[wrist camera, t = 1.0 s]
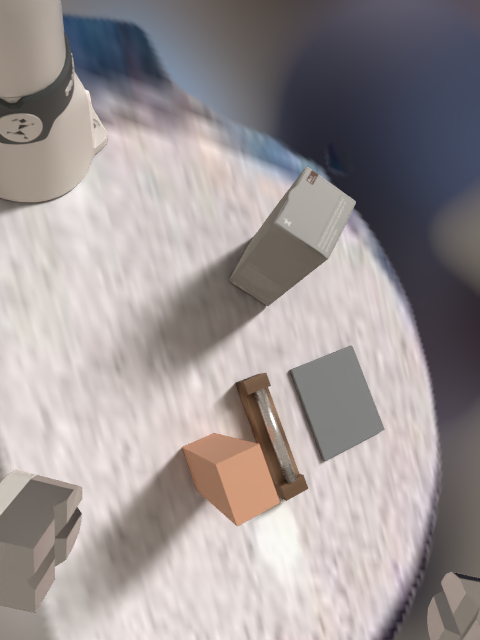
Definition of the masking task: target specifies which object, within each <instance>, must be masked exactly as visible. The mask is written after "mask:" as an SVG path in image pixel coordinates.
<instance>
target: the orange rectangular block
mask: <svg viewBox="0 0 480 640" xmlns="http://www.w3.org/2000/svg"><path fill="white" fill-rule="evenodd" d="M182 448H183V451H184V454H185V457H186V460H187V463H188V466H189V469H190V472H191V475H192V478H193V481H194V484H195V487H196V490H197V491H198V492H199V493H200V494H201V495H202V496H204V497H205V498H206V499H207V500H208V501H209V502H210V503H211V504H213V505H214V506H215V507H216V508H217V509H218V510H219V511H220V512H222V513H223V514H224V515H225V516H226V517H227V518H228V519H229V520H231V521H232V522H233V523H234V524H235V525H236V526H239V525H241V524H242V523H244V522H246V521H248V520H250V519H252V518H253V517H255V516H257V515H259V514H261V513H262V512H264V511H266V510H268V509H270V508H272V507H273V506H275V505H277V504H279V503H280V501H279V498H278V495H277V492H276V489H275V487H274V484H273V481H272V478H271V475H270V473H269V470H268V467H267V464H266V461H265V458H264V456H263V453H262V450H261V447H260V444H257V443H253V442H249V441H245V440H241V439H237V438H233V437H228V436H224V435H220V434H216V433H213V434H211V435H209V436H206V437H204V438H202V439H199V440H197V441H195V442H193V443H190V444H188V445H186V446H183V447H182Z"/></svg>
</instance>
